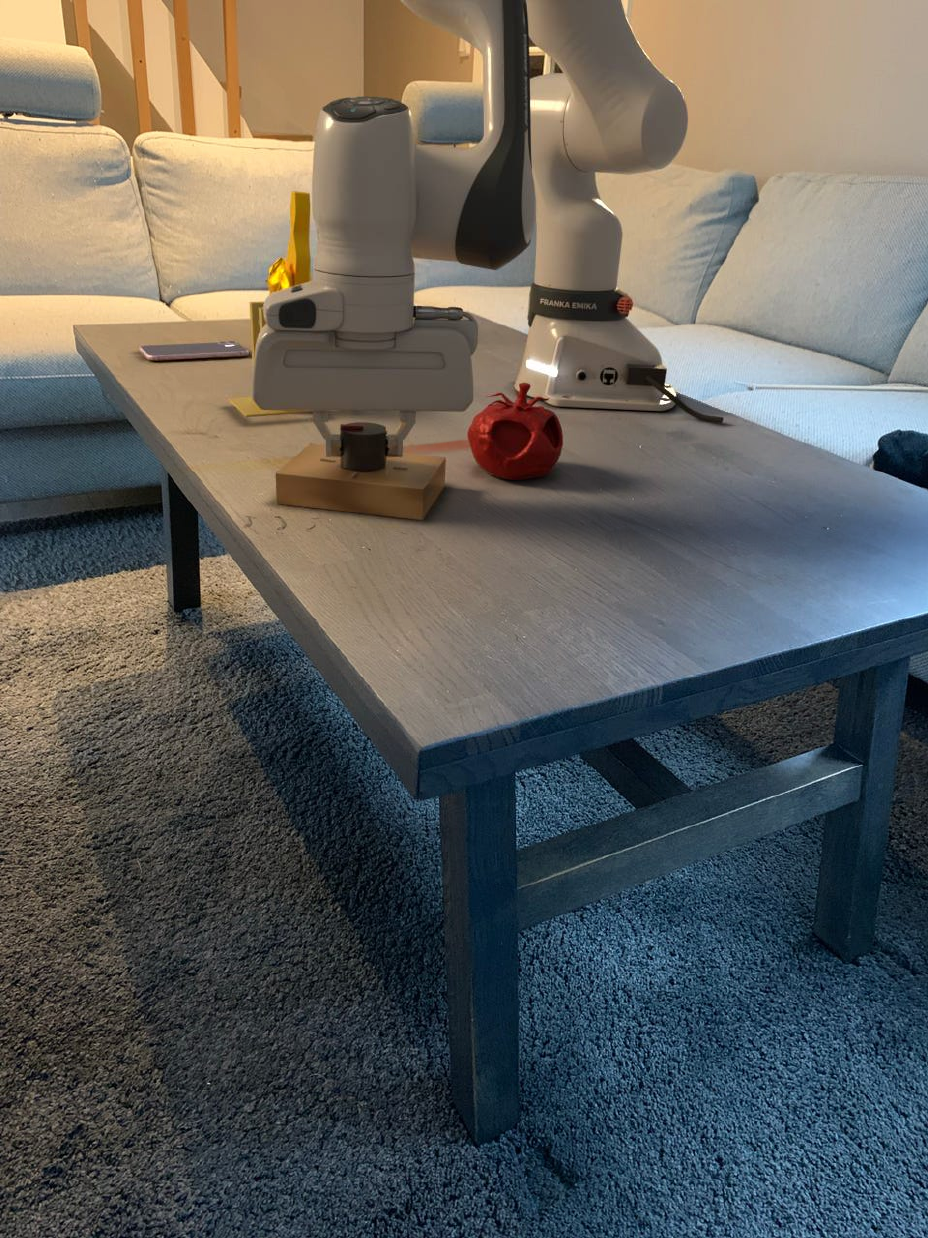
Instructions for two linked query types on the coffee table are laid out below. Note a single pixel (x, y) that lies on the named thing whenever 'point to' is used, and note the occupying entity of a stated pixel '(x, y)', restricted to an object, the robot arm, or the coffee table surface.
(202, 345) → the mobile phone
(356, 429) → the dial knob
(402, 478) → the knob base block
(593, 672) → the coffee table surface
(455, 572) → the coffee table surface
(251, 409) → the yellow upright double-plate block
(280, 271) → the figure statuette
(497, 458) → the red hollowed tomato
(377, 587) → the coffee table surface
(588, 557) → the coffee table surface
